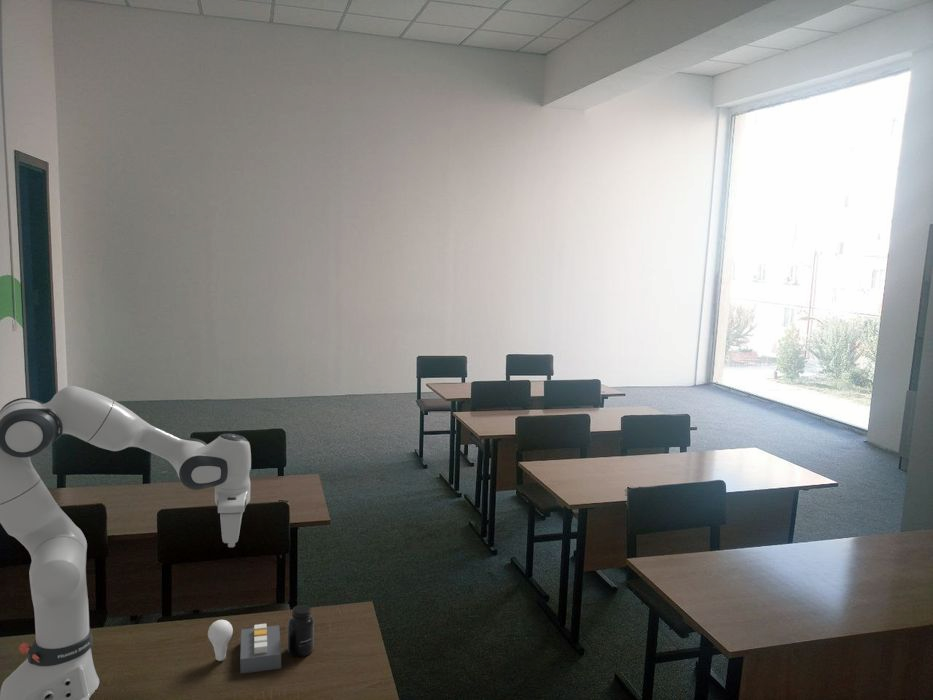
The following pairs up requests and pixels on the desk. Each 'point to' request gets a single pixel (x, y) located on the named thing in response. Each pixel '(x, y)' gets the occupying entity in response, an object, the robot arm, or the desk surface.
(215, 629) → the lightbulb
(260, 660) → the breaker strip
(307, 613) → the supplement bottle
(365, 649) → the desk surface
